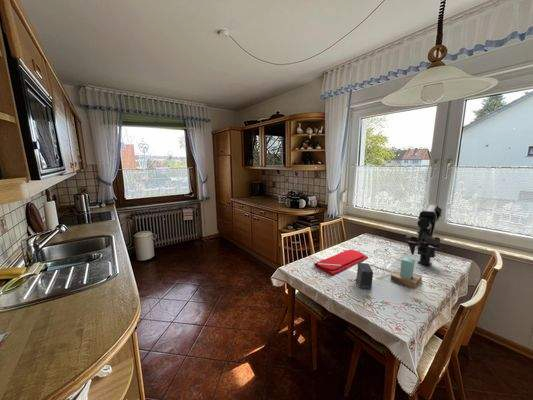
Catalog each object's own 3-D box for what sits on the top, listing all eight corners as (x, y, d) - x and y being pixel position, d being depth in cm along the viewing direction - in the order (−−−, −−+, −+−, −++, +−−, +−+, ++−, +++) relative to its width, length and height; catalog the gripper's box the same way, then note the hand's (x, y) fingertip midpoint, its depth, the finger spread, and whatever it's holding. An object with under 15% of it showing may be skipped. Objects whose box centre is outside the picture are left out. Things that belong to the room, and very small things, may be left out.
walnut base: (398, 273, 138) (399, 268, 137) (421, 281, 129) (421, 276, 128) (390, 279, 130) (391, 275, 130) (413, 288, 121) (414, 283, 121)
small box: (372, 289, 121) (374, 272, 119) (359, 288, 122) (361, 271, 120) (367, 279, 131) (369, 263, 129) (356, 278, 132) (357, 262, 130)
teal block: (403, 272, 132) (405, 257, 130) (412, 276, 128) (414, 260, 127) (400, 275, 129) (401, 259, 127) (409, 279, 125) (411, 262, 124)
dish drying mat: (368, 258, 159) (368, 254, 158) (332, 277, 135) (333, 271, 134) (348, 251, 171) (349, 247, 170) (313, 267, 147) (313, 262, 146)
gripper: (419, 227, 125) (414, 254, 124) (451, 235, 125) (446, 263, 124) (406, 226, 136) (401, 251, 135) (435, 234, 136) (431, 259, 135)
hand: (419, 256), depth 132 cm, fingers open, 9 cm apart
